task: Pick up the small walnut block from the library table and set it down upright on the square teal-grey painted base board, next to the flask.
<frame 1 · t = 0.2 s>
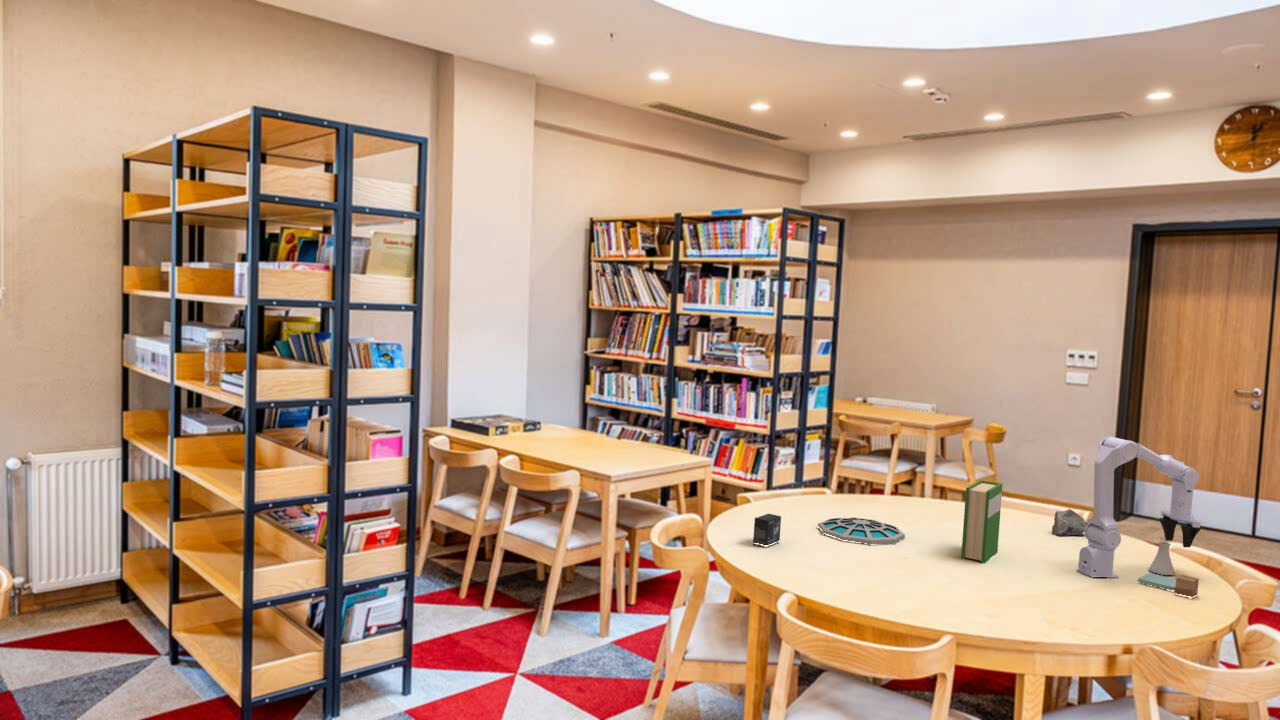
hand: (1177, 543, 277), 10 cm above the table, tool pointing down, fingers open, 7 cm apart
grey teal dome window: (860, 535, 310), on the table
base board: (1161, 584, 265), on the table
walnut block: (1186, 595, 255), on the table
hardback book: (979, 556, 288), on the table
mineral rock: (1070, 536, 322), on the table
box: (766, 544, 291), on the table
flask: (1161, 573, 278), on the table
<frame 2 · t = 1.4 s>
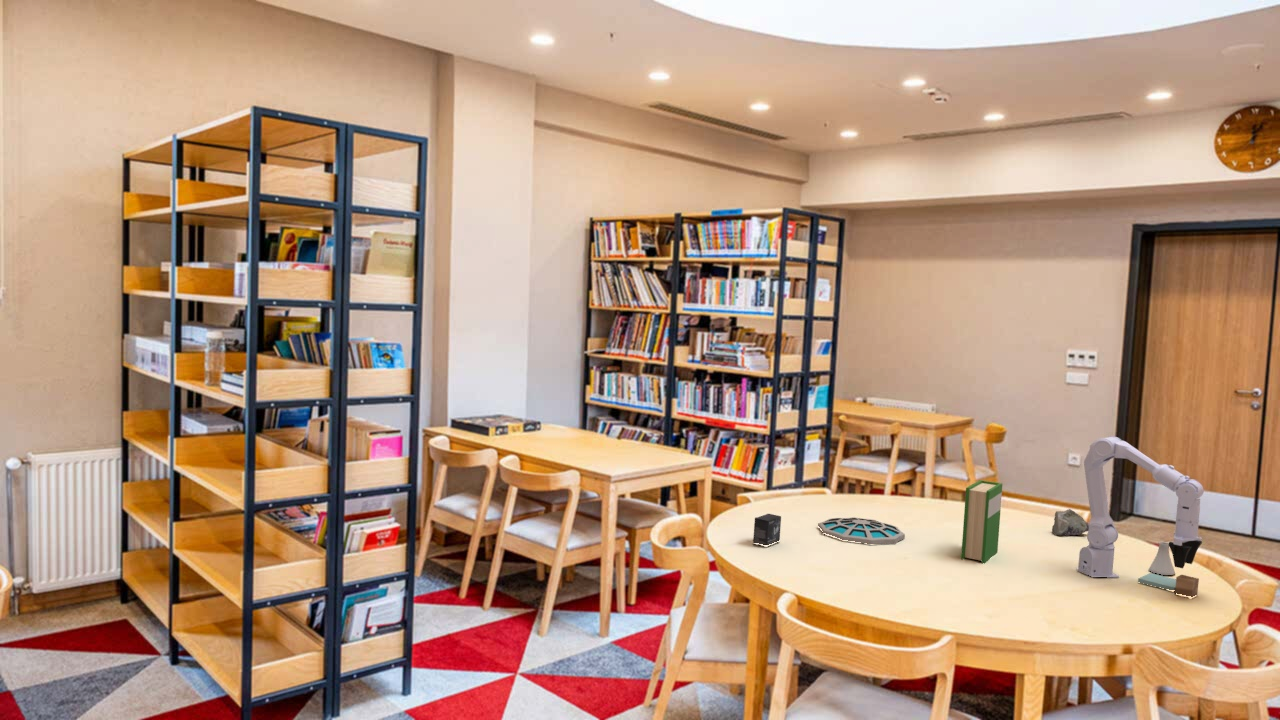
hand: (1183, 565, 256), 9 cm above the table, tool pointing down, fingers open, 7 cm apart
nothing on the table moved.
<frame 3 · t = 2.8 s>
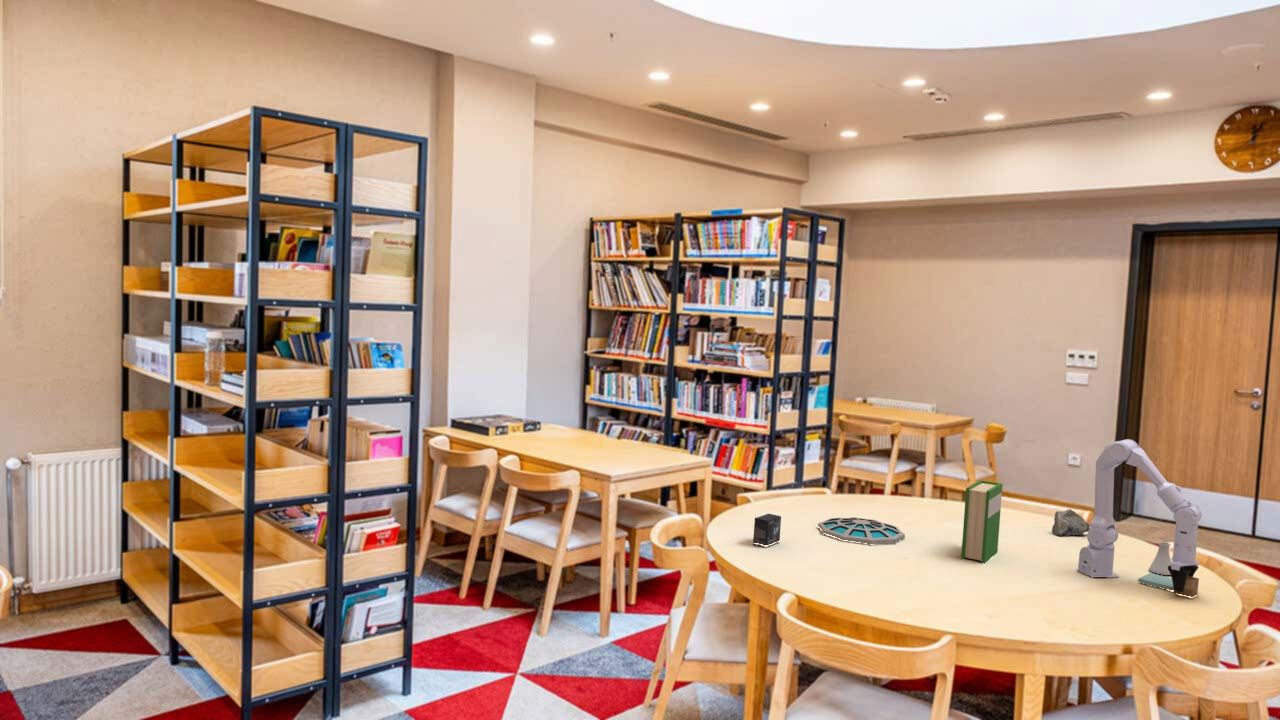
hand: (1181, 589, 256), 1 cm above the table, tool pointing down, fingers closed on walnut block, 4 cm apart
walnut block: (1186, 595, 255), on the table, touching gripper
everything else where it was.
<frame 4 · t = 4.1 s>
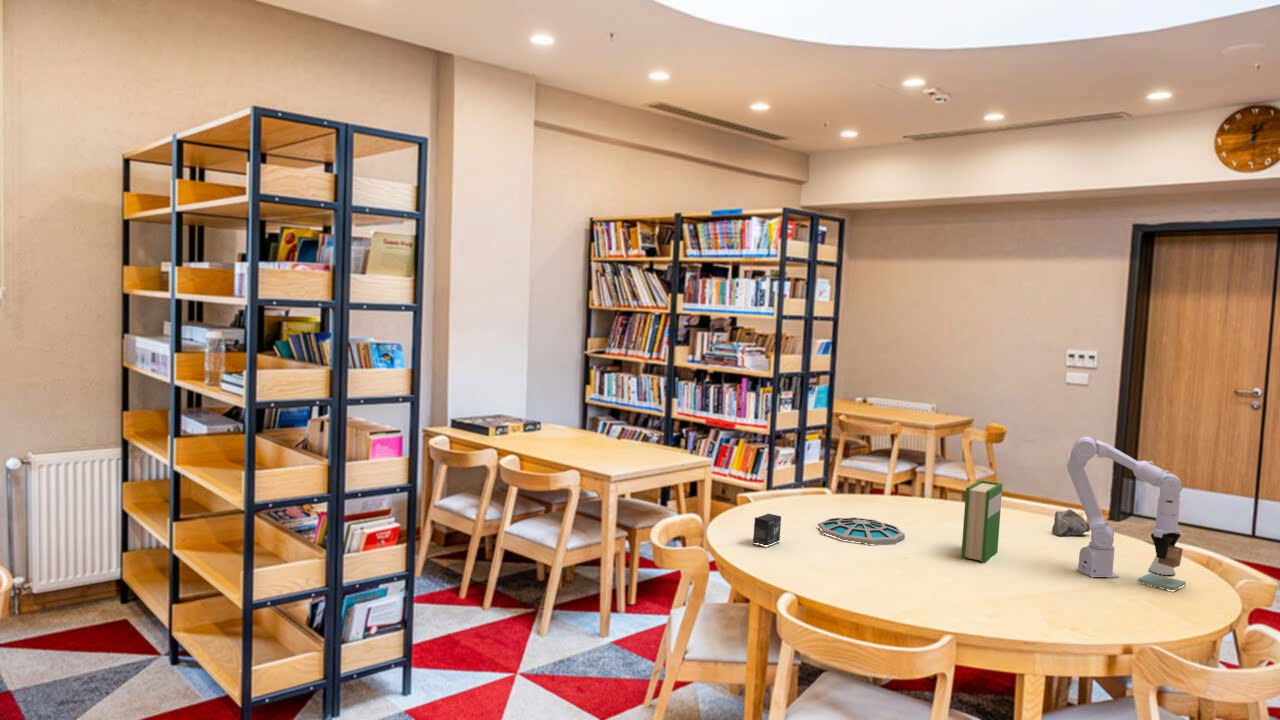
hand: (1163, 556, 264), 9 cm above the table, tool pointing down, fingers closed on walnut block, 5 cm apart
walnut block: (1168, 564, 263), point 7 cm above the table, touching gripper
everything else where it was.
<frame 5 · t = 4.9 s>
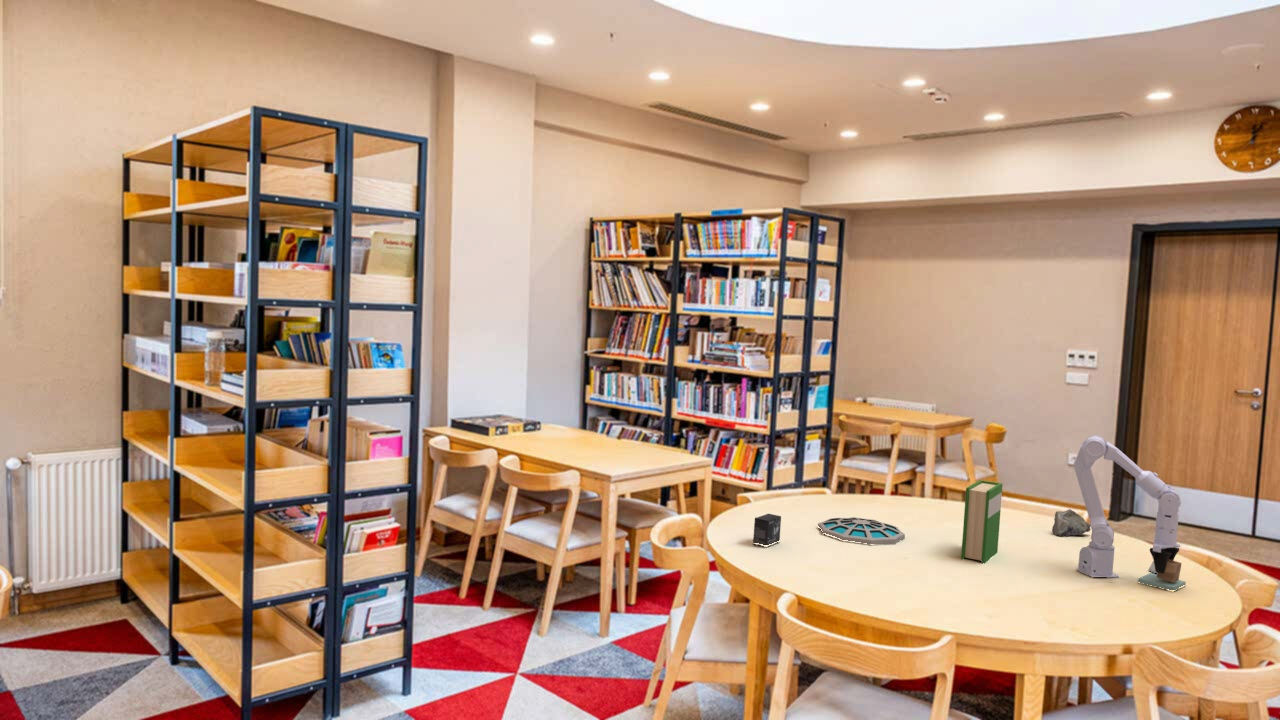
hand: (1162, 571, 265), 4 cm above the table, tool pointing down, fingers closed on walnut block, 5 cm apart
walnut block: (1167, 578, 263), point 2 cm above the table, touching gripper
everything else where it was.
when the fingers open (4 cm above the table, at t = 5.4 s): walnut block stays where it is, resting on base board.
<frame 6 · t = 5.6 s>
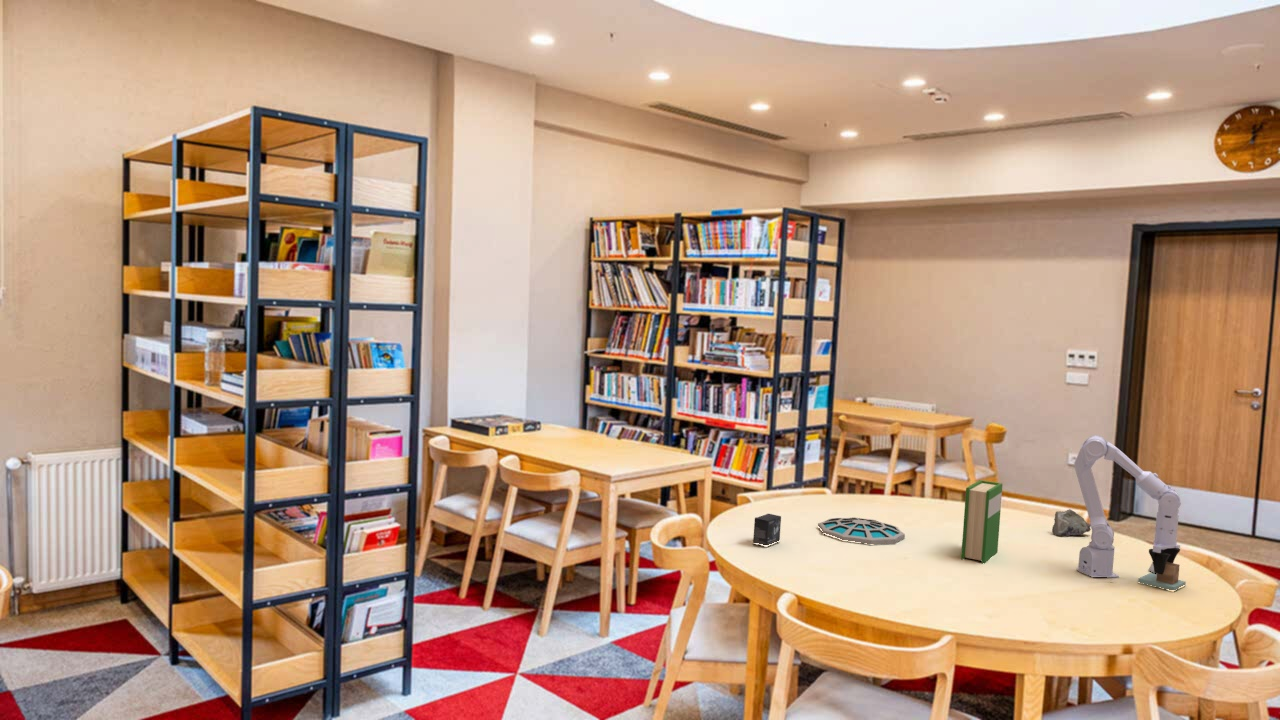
hand: (1162, 571, 265), 4 cm above the table, tool pointing down, fingers open, 6 cm apart
walnut block: (1167, 581, 264), point 1 cm above the table, touching base board
everything else where it was.
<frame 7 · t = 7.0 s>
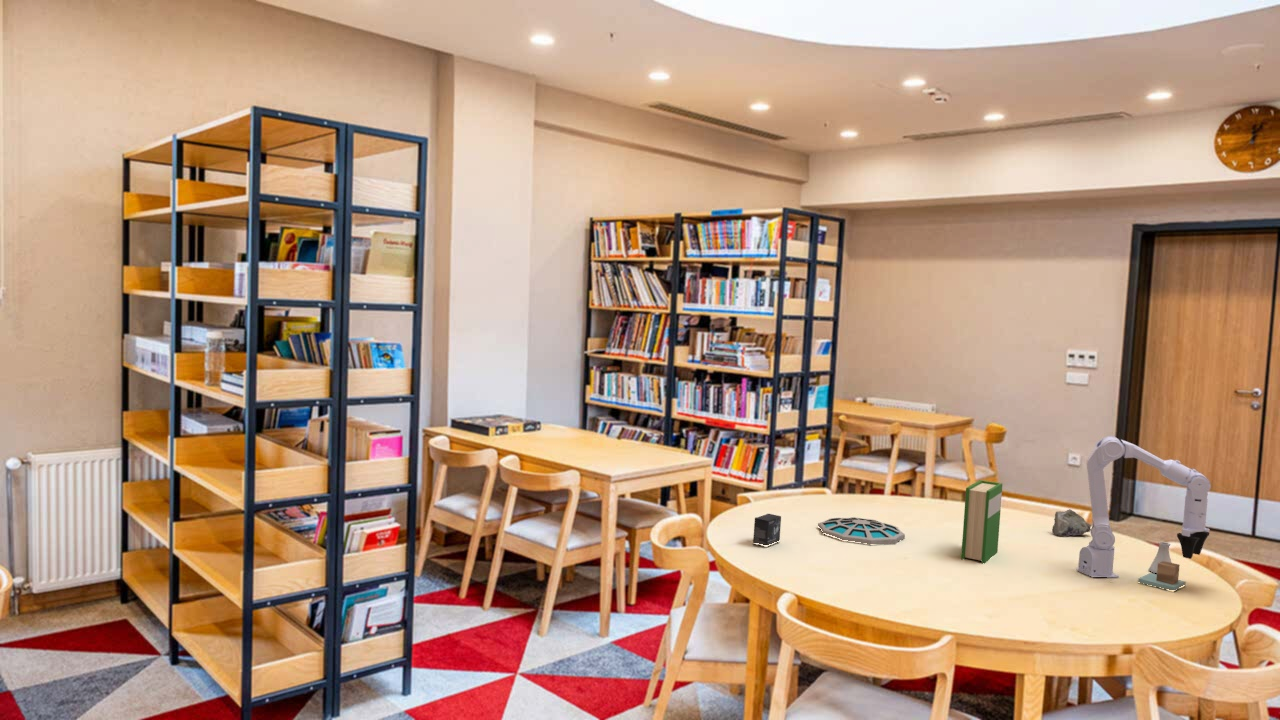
hand: (1191, 555, 263), 10 cm above the table, tool pointing down, fingers open, 7 cm apart
nothing on the table moved.
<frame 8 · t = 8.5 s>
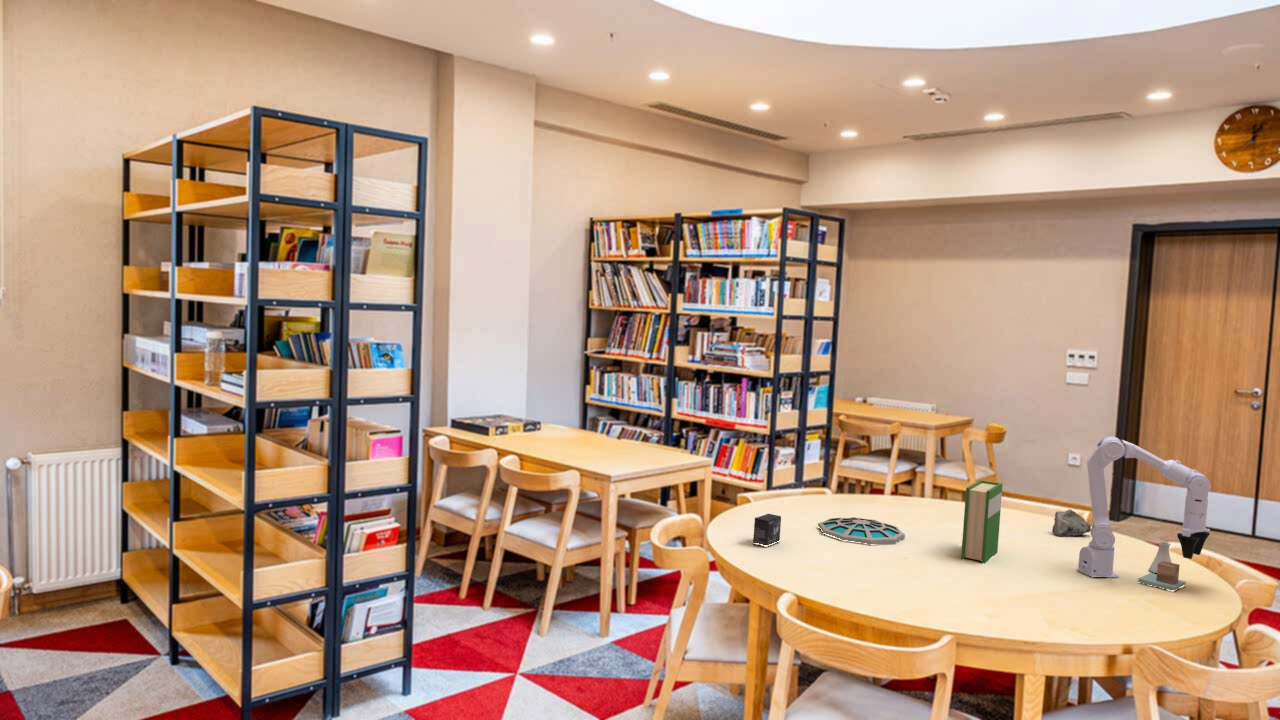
hand: (1191, 556, 263), 10 cm above the table, tool pointing down, fingers open, 7 cm apart
nothing on the table moved.
at the end: walnut block inside the target area on the base board (1.5 cm from its centre), point 1.5 cm above the base board's base; walnut block tilted 0°; the gripper is holding nothing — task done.
